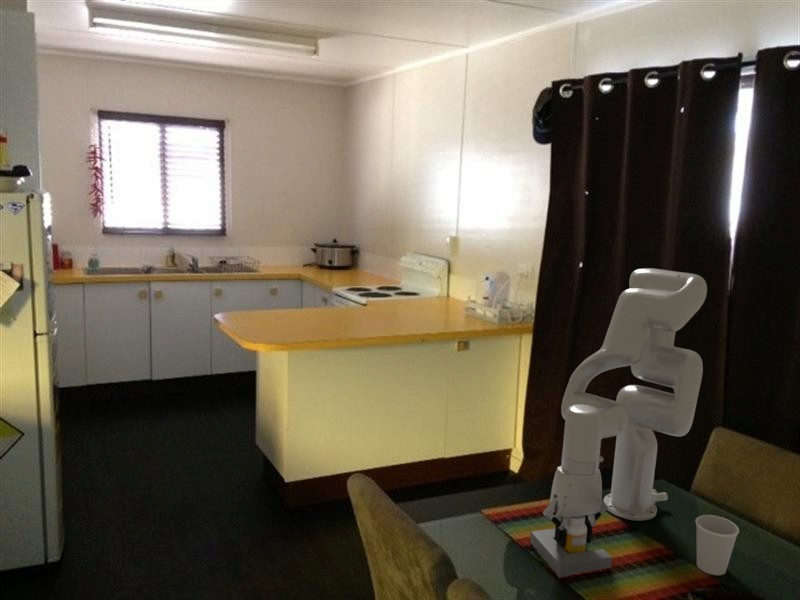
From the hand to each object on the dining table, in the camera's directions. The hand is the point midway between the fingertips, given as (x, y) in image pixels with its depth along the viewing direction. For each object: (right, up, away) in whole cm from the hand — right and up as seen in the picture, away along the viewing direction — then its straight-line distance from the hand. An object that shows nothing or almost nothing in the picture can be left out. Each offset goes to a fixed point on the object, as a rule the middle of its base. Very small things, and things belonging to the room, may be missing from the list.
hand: (572, 541), depth 143 cm
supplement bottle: (0, -4, +1) cm, 4 cm away
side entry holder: (-1, -4, +1) cm, 4 cm away
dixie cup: (+29, -5, -1) cm, 30 cm away
